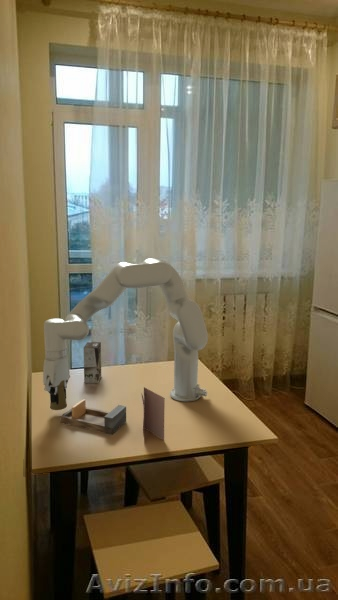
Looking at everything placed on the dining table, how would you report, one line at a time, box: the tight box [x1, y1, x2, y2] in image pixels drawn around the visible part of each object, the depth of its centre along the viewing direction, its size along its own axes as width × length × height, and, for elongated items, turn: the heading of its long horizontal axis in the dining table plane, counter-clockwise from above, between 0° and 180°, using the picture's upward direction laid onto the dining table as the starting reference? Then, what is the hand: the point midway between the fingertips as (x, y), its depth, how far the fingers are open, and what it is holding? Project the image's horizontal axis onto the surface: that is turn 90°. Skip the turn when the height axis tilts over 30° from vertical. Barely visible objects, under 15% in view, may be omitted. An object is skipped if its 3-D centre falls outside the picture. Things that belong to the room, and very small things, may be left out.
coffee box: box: [83, 341, 102, 384], centre depth 192 cm, size 9×6×16 cm
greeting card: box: [140, 386, 166, 441], centre depth 144 cm, size 11×7×15 cm, turn 4°
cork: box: [49, 380, 68, 411], centre depth 158 cm, size 6×6×11 cm
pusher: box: [71, 398, 87, 419], centre depth 156 cm, size 1×7×5 cm, turn 158°
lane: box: [59, 404, 127, 436], centre depth 153 cm, size 21×10×6 cm, turn 68°
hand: (58, 400), depth 159 cm, fingers closed on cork, 3 cm apart
